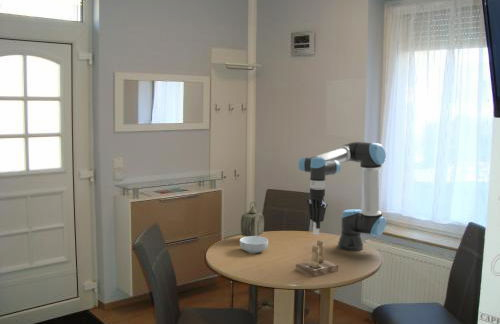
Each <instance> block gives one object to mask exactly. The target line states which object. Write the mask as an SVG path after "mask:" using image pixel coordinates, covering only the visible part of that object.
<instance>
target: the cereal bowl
mask: <svg viewBox="0 0 500 324" xmlns="http://www.w3.org/2000/svg"><path fill="white" fill-rule="evenodd" d="M239 246H240V248H241V249H242V250H243V251H245V252H247V253H248V254H249V253H250V254H259V253H261V252H263V251H265V250H266V249H268V246H269V239H268V237H267V238H266V237H265V236H261V235H259V236H247V237H246V236H243V237H241V238H240V239H239Z"/></svg>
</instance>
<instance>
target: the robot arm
mask: <svg viewBox="0 0 500 324" xmlns="http://www.w3.org/2000/svg"><path fill="white" fill-rule="evenodd" d="M386 156H387V154H386V150H385V148H384V146H383V145H382V144H381V143H376V142H364V141H355V142H354V141H353V142H350V143H346V144H342V145H339V146H338V147H337V148H336V149H333V150H331V151H326V152H322V153H321V154H318V155H315V156H311V157H301V158H300V159H299V161H298V170H300V171H302V172H304V173H310V174H309V175H310V176H309V177H310V178H309V179H310V180H309V188H310V189H309V197H310V199H308V200H306V203H307V209H308V215H309V220H310V221H312V234H313V235H314V236H317V235H320V228H321V222H322V223H323V222H324V219H325V215H326V212H327V211H326V210H327V207H328V206H329V205H328V203H325V199H324V197H326V196H325V195H326V190H325V189H326V176H333V175H336V174H338V173H339V172H340V171H341V168H342V167H341V166H342V165H341V163H346V162H353V163H354V162H355V163H360V168H361V169H362V174H363V175H362V176H363V178H362V179H363V182H362V183H363V209H359V208H358V209H357V208H354V209H353V208H352V209H351V208H350V209H345V210H343V211H342V212H341V227H340V228H341V229H340V230H341V232H340V236H339V240H338V242H337V248H338V247H339V248H338V249H340V250H343V249H344V250H343V251H349V250H358V251H362V250H364V243H363V238H362V234H364V235H369V236H375V237H380V236H382V234H383V233H384V231H385V229H386V226H387V219H386V217H384V216H383V212H382V211H381V210H380V179H379V178H380V177H379V175H380V174H379V173H380V172H379V169H381V168H382V165H383V164H384V163H385V162H386V160H385V159H386ZM361 249H362V250H361Z"/></svg>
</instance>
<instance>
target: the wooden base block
mask: <svg viewBox="0 0 500 324" xmlns="http://www.w3.org/2000/svg"><path fill="white" fill-rule="evenodd" d="M316 246H319V268H318V269H313V268H311V267H312V260H309V261H304V262H299V263H295V266H294V267H295V271H296V272H299V273H302V274H303V275H306V276H309V277H311V278H314V277H319V276H323V275H327V274H330V273H334V272H338V271H339V264H337V263H333V262H331V261H328V260H326V259H324V258H325V257H324V254H325V241H324V240H317V242H316Z"/></svg>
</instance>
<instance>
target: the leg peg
mask: <svg viewBox="0 0 500 324" xmlns="http://www.w3.org/2000/svg"><path fill="white" fill-rule="evenodd" d="M311 261H312V267H311V268H313V269H318V268H319V246H317V245H312V246H311Z"/></svg>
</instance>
